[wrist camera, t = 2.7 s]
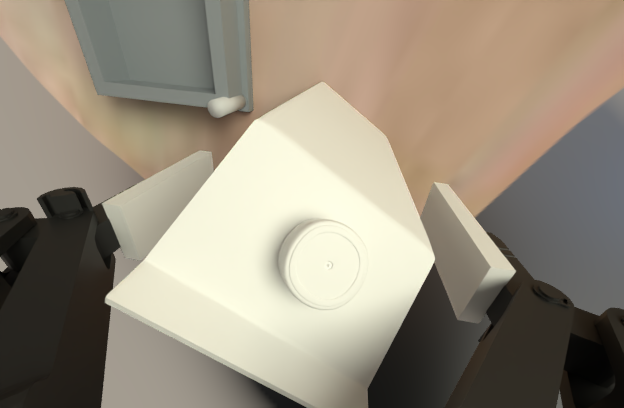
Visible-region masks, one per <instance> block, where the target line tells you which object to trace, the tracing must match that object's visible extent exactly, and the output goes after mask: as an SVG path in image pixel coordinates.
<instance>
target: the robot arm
mask: <svg viewBox="0 0 624 408" xmlns="http://www.w3.org/2000/svg"><path fill="white" fill-rule="evenodd" d="M213 172H214V167H213V160H212V152H208V151H201V150H199V151H197V152H196V153H194V154H192V155H190V156H188V157H186V158H185V159H183V160H181V161H179V162H177V163H175V164H173V165H172V166H170V167H168V168H166V169H164V170H162V171H160V172H159V173H157V174H155V175H153V176H151V177H149V178H148V179H146V180H144V181H142V182H140V183H138V184H136V185H133V186H132V187H130V188H128V189H126V190H125V191H122V192H120V193H119V194H118V195H115V196H113V197H111V198H109V199H107V200H106V201H104V202H102V203H100V204H98V205H96V206H94V207H92V205H91V202H90V200H89V198H88V196H87V194H86V191H85V190H84V189H82V188H78V187H77V188H76V187H70V188H62V189H57V190H53V191H50V192H47V193H45V194H43V195H41V196H40V197H38V198H37V200H38V202H39V204H40V205H41V207H42V209H43V211H44V212H45V214H46V216H47V218H39V219H35V218H34V217H33V215H32V214H31V212H30V211H29V209H28V208H24V207H15V208H5V209H2V210H1V209H0V257H1V258H2V260H3V261H4V262H5V264H6V265H7V266H8V267H7V268H6V269H5V270H4V271H3V272H1V271H0V408H101V401H102V391H103V381H104V371H105V361H106V351H107V340H108V331H109V321H110V311H111V306H110V305H108V304H106V303H105V298H106V296H107V294H108V293H109V292H110V291H111V290H113V280H114V271H115V256H114V254H113V252H115V251H116V250H117V249H118V248H121V250H122V253H123V255H124V258H128V259H133V260H139V261H141V260H142V259H143V258H145V257H146V256H147V255H148V254H149V253H150V252H151V250H152V249H153V248H154V247H155V245H156V244H157V243H158V242H159V240H160V239H161V238H162V236H163V235H164V234H165V233H166V231H167V230H168V229H169V228H170V226H171V225H172V224H173V223H174V221H175V220H176V219H177V217H178V216H179V215H180V214H181V212H182V211H183V210H184V209H185V207H186V206H187V205H188V204H189V202H190V201H191V200H192V199H193V197H194V196H195V195H196V193H197V192H198V191H199V190H200V188H201V187H202V186H203V185H204V183H205V182H206V181H207V180H208V178H209V177H210V176H211V175H212V173H213ZM420 219H421V221H422V224H423V226H424V229H425V231H426V234H427V236H428V239H429V241H430V244H431V247H432V250H433V253H434V256H435V261H434V262H435V264H436V267H437V269H438V272H439V274H440V277H441V279H442V282H443V284H444V287H445V289H446V292H447V294H448V297H449V299H450V302H451V304H452V307H453V309H454V312H455V314H456V316H457V319H458V320H462V321H468V322H474V323H480V321H481V320H482V318H483V317H484V316H485V314H486V313H487V315H488V317H489V319H490V321H491V324H490V326H489V327H488V328H487V330H486V331H485V332H484V334H483V335H482V336H481V338H480V339H479V340H478V341H479V342H480V343H479V345H478V346H477V348H476V350H475V352H474V354H473V356H472V357H471V359H470V361H469V363H468V365H467V367H466V368H465V370H464V372H463V374H462V376H461V378H460V380H459V381H458V383H457V385H456V387H455V389H454V391H453V392H452V394H451V396H450V398H449V400H448V401H447V403H446V405H445V407H444V408H556V405H557V400H558V394H559V389H560V394H561V399H562V405H563V408H624V310H623V309H620V308H609V309H607V310H606V311H605V312H604V313H603V314H601V315H600V316H598V315H595V314H592V313H589V312H587V311H584V310H581V309H579V308H576V307H574V304H573V303H572V301H571V300H570V299H569V298H568V297H567V296H566V295H565V294H563V293H562V292H561V291H560V290H558V289H556V288H555V287H553V286H551V285H549V284H547V283H544V282H542V281H538V280H534V279H533V277H532V276H531V275H530V274H529V273H528V271H527V270H526V269H525V268H524V267H523V265H522V264H521V263H520V262H519V261H518V260H517V258H514V255H513V254H512V252H511V251H509V249H508V248H507V247H506V245H505V244H504V243H503V242H502V241H501V240H500V239H499V238H497V237H496V236H495V235H493V234H492V233H488V232H485V231H484V230H483V228H482V227H481V226H480V224H479V223H478V222H477V221H476V219H475V218H474V217H473V216H472V214H471V213H470V212H469V210H468V209H467V208H466V207H465V205H464V204H463V203H462V202H461V200H460V199H459V198H458V196H457V195H456V194H455V193H454V191H453V190H452V189H451V188H450V186H449V185H448V184H444V183H436V182H433V185H432V188H431V190H430V193H429V196H428V198H427V201H426V204H425V206H424V209H423V212H422V214H421V217H420Z"/></svg>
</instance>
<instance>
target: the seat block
mask: <svg viewBox="0 0 624 408" xmlns="http://www.w3.org/2000/svg"><path fill="white" fill-rule="evenodd" d="M65 3H66V6H67V8H68V11H69V14H70V17H71V20H72V23H73V26H74V28H75V31H76V34H77V37H78V40H79V43H80V46H81V49H82V51H83V54H84V57H85V60H86V63H87V66H88V69H89V71H90V74H91V77H92V80H93V83H94V86H95V89H96V91H97V94H98V95H105V96H114V97H122V98H131V99H139V100H148V101H156V102H165V103H173V104H182V105H190V106H198V107H207V108H208V111H209V113H210V114H211V115H212V116H213V117H215V118H220V117H222V116H225V115H227V114H230V113H232V112H235V111H244V112H250V111H252V110H253V89H252V66H251V42H250V19H249V0H65Z"/></svg>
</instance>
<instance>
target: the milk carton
mask: <svg viewBox="0 0 624 408" xmlns="http://www.w3.org/2000/svg"><path fill="white" fill-rule="evenodd" d="M434 261H435V256H434V253H433V250H432V247H431V244H430V241H429V239H428V236H427V234H426V231H425V229H424V226H423V224H422V221H421V219H420V217H419V214H418V212H417V209H416V207H415V204H414V202H413V200H412V197H411V195H410V192H409V190H408V187H407V185H406V183H405V180H404V178H403V175H402V173H401V170H400V168H399V166H398V163H397V161H396V158H395V156H394V153H393V151H392V149H391V146H390V144H389V141H388V139H387V137H386V136H385V135H384V134H383V133H382V132H381V131H380V130H379V129H378V128H377V127H375V126H374V125H373V124H372V123H371V122H370V121H369V120H367V119H366V118H365V117H364V116H363V115H362V114H360V113H359V112H358V111H357V110H356V109H355V108H354V107H352V106H351V105H350V104H349V103H348V102H347V101H345V100H344V99H343V98H342V97H341V96H340V95H339V94H337V93H336V92H335V91H334V90H333V89H332V88H330V87H329V86H328V85H327V84H326V83H324V82H320V83H318V84H316V85H315V86H313V87H311V88H309V89H308V90H306V91H304V92H302V93H301V94H299V95H297V96H295V97H294V98H292V99H290V100H289V101H287V102H285V103H283V104H282V105H280V106H278V107H276V108H275V109H273V110H271V111H269V112H268V113H266V114H264V115H263V116H261V117H260V118H259V119H256V120H254V122H253V123H252V124H251V125H250V127H249V128H248V129H247V130H246V132H245V133H244V134H243V135H242V137H241V138H240V139H239V140H238V142H237V143H236V144H235V145H234V147H233V148H232V149H231V150H230V152H229V153H228V154H227V156H226V157H225V158H224V159H223V161H222V162H221V163H220V164H219V166H218V167H217V168H216V169H215V171H214V172H213V173H212V175H211V176H210V177H209V178H208V180H207V181H206V182H205V183H204V185H203V186H202V187H201V188H200V190H199V191H198V192H197V193H196V195H195V196H194V197H193V199H192V200H191V201H190V202H189V204H188V205H187V206H186V207H185V209H184V210H183V211H182V212H181V214H180V215H179V216H178V217H177V219H176V220H175V221H174V223H173V224H172V225H171V226H170V228H169V229H168V230H167V231H166V233H165V234H164V235H163V236H162V238H161V239H160V240H159V242H158V243H157V244H156V245H155V247H154V248H153V249H152V250H151V252H150V253H149V254H148V255H147V257H146V258H145V259H144V261H143V262H141V263H140V264H139V265H138V266H137V267H136V268H135V269H134V270H133V271H132V272H131V273H130V274H129V275H128V276H126V277H125V278H124V279H123V280H122V281H121V282H120V283H119V284H118V285H117V286H116V287H115V288H114V289H113V290H111V291H110V292H109V293H108V294H107V296H106V298H105V303H106V304H108V305H110V306H112V307H114V308H116V309H118V310H120V311H122V312H124V313H126V314H128V315H129V316H131V317H133V318H135V319H137V320H140V321H141V322H143V323H145V324H147V325H149V326H151V327H153V328H155V329H157V330H158V331H160V332H162V333H164V334H166V335H168V336H170V337H172V338H174V339H176V340H178V341H180V342H182V343H184V344H186V345H188V346H189V347H191V348H193V349H195V350H197V351H199V352H201V353H203V354H205V355H207V356H209V357H211V358H213V359H215V360H216V361H218V362H220V363H222V364H224V365H226V366H228V367H230V368H232V369H234V370H236V371H238V372H240V373H242V374H244V375H245V376H248V377H249V378H251V379H253V380H255V381H257V382H259V383H261V384H263V385H265V386H267V387H269V388H271V389H273V390H275V391H277V392H278V393H280V394H282V395H284V396H286V397H288V398H290V399H292V400H294V401H296V402H298V403H300V404H302V405H304V406H305V407H307V408H368V393H367V388H368V386H369V385H370V383H371V381H372V379H373V377H374V375H375V373H376V371H377V369H378V367H379V366H380V364H381V362H382V360H383V358H384V356H385V354H386V352H387V350H388V349H389V347H390V345H391V343H392V341H393V339H394V337H395V335H396V333H397V332H398V330H399V328H400V326H401V324H402V322H403V320H404V318H405V316H406V315H407V313H408V311H409V309H410V307H411V305H412V303H413V301H414V299H415V298H416V295H417V294H418V292H419V290H420V288H421V286H422V284H423V282H424V281H425V279H426V277H427V275H428V273H429V271H430V269H431V267H432V265H433V263H434Z"/></svg>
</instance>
